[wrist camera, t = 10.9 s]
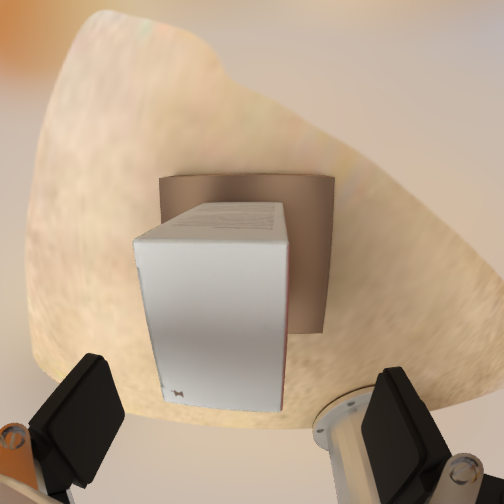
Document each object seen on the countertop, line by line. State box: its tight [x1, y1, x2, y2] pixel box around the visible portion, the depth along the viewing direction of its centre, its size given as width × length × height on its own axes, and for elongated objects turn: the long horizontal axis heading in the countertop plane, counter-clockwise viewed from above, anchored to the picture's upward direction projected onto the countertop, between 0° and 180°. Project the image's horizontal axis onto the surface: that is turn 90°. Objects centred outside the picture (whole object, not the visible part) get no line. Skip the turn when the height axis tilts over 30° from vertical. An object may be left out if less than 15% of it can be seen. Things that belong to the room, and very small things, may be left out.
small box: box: [133, 202, 290, 412], centre depth 15 cm, size 8×6×10 cm
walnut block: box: [159, 174, 335, 334], centre depth 23 cm, size 12×12×4 cm
